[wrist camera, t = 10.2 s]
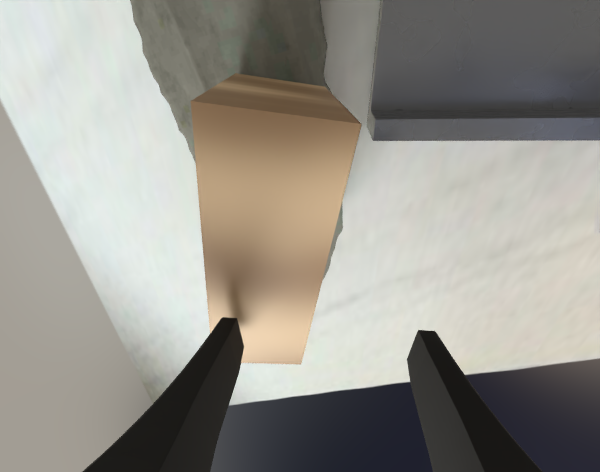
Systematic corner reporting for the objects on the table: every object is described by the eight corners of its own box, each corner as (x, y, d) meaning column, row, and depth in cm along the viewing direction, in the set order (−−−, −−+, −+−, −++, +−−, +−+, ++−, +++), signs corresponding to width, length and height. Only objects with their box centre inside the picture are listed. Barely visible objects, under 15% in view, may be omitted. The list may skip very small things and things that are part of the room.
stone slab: (303, -80, 13) (114, -7, 14) (307, -107, 10) (80, -18, 12) (364, 267, 25) (262, 290, 26) (372, 288, 23) (259, 312, 24)
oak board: (295, 263, 21) (301, 364, 14) (235, 259, 20) (212, 362, 14) (324, 86, 14) (361, 124, 7) (235, 73, 13) (190, 100, 7)
